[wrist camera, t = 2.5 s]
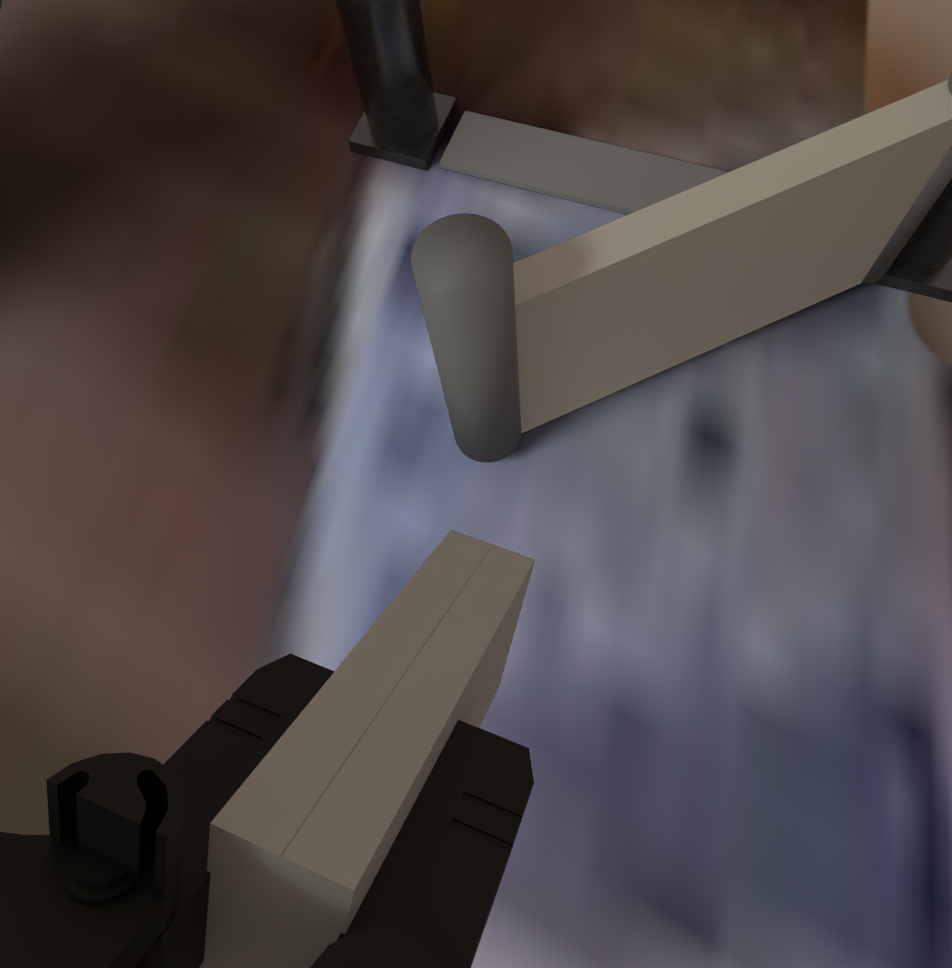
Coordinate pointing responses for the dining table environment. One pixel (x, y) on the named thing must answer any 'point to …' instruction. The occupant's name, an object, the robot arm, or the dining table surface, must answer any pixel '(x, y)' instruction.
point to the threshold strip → (567, 165)
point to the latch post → (394, 82)
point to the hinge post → (927, 254)
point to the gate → (671, 271)
